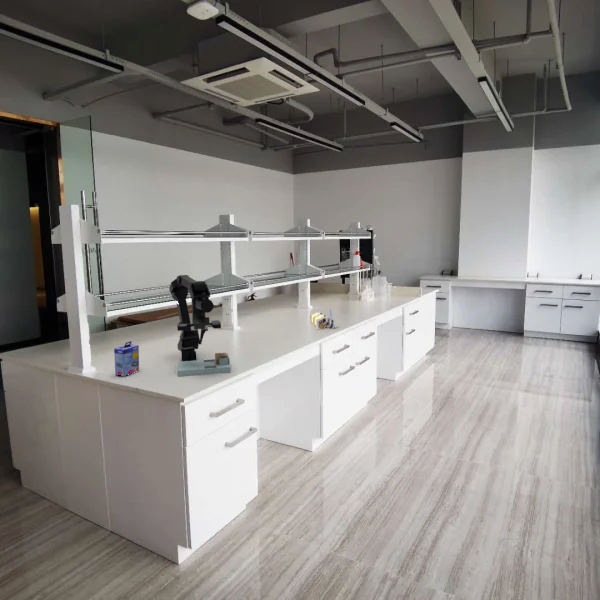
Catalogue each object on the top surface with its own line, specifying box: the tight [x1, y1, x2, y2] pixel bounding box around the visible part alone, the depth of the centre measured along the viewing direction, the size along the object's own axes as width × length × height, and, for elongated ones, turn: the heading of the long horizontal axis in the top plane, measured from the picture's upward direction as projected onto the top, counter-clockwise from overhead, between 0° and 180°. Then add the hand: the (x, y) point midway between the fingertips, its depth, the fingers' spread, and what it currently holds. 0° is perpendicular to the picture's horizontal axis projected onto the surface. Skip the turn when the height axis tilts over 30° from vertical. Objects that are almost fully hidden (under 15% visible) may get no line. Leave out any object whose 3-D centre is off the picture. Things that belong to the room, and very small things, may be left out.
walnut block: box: [214, 352, 228, 365], centre depth 205 cm, size 5×5×4 cm
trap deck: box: [176, 353, 231, 377], centre depth 203 cm, size 22×15×6 cm, turn 104°
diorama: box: [309, 308, 335, 330], centre depth 301 cm, size 25×10×13 cm, turn 11°
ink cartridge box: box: [113, 340, 140, 377], centre depth 198 cm, size 10×6×14 cm, turn 159°
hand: (200, 344), depth 202 cm, fingers closed
